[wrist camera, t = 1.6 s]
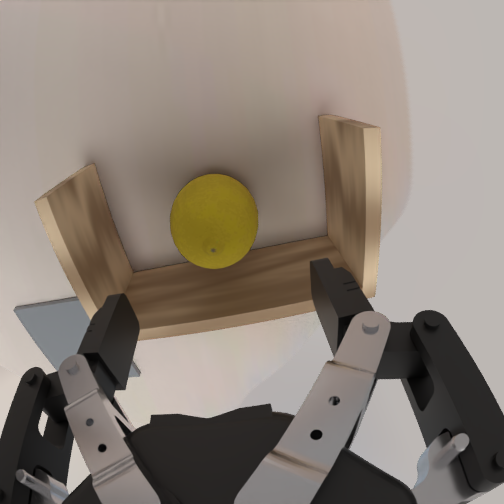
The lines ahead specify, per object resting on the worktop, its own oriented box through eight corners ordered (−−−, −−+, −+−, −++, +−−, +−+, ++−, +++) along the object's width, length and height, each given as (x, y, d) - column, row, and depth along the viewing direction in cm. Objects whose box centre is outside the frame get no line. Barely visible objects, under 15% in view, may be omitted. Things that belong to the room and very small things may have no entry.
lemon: (166, 210, 22) (143, 266, 15) (202, 148, 20) (192, 178, 13) (226, 242, 24) (231, 307, 17) (266, 186, 22) (288, 233, 15)
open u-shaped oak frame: (83, 167, 20) (34, 201, 13) (330, 114, 20) (380, 127, 13) (127, 283, 25) (105, 343, 19) (338, 243, 25) (374, 296, 19)
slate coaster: (15, 307, 25) (13, 310, 25) (93, 294, 25) (92, 298, 25) (64, 375, 31) (63, 378, 31) (140, 372, 31) (139, 376, 31)
